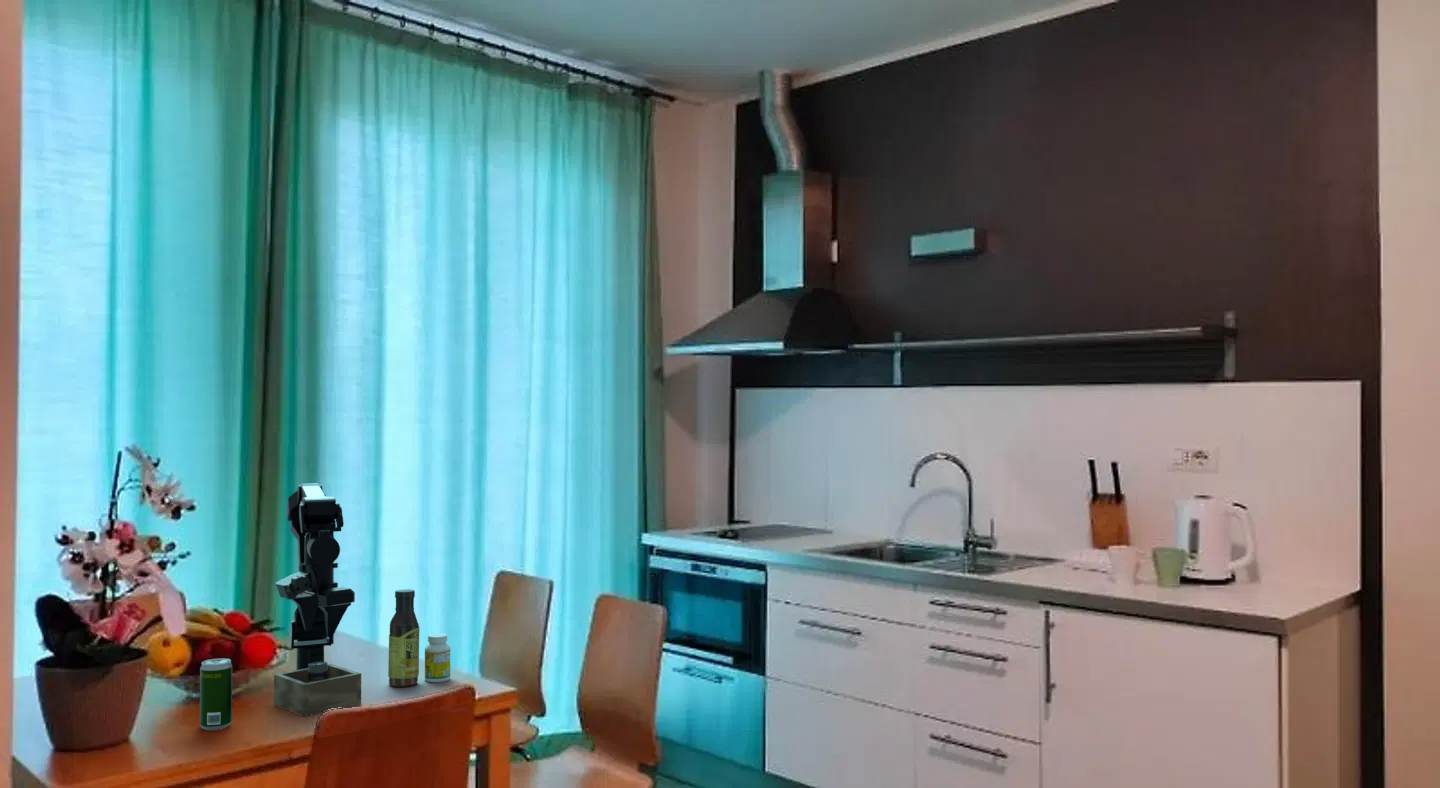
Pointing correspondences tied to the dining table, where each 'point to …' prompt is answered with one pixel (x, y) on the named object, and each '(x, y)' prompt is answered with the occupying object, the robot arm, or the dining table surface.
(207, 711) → the beer can
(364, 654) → the dining table surface
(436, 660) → the supplement bottle
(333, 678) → the frame
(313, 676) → the plunger
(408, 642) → the sauce bottle
